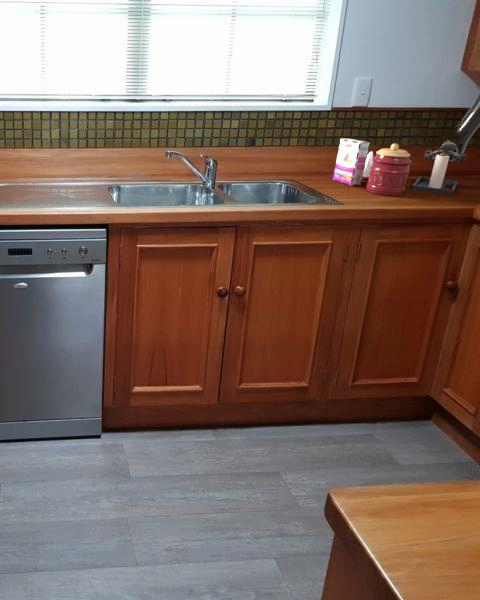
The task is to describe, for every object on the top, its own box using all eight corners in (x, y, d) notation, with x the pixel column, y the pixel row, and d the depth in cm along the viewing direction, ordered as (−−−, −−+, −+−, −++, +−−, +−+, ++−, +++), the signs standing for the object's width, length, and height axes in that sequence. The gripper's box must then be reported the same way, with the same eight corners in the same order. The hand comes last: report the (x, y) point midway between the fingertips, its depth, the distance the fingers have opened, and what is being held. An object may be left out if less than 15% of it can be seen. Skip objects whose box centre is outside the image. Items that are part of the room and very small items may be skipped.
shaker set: (361, 180, 242) (367, 152, 238) (353, 178, 246) (359, 151, 242) (385, 179, 246) (391, 152, 242) (377, 177, 250) (383, 150, 245)
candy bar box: (361, 185, 234) (371, 142, 228) (351, 186, 233) (360, 142, 226) (342, 179, 244) (350, 137, 237) (331, 180, 242) (339, 138, 236)
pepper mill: (441, 186, 235) (450, 152, 230) (440, 188, 231) (449, 153, 226) (429, 185, 237) (437, 151, 232) (427, 187, 234) (436, 152, 228)
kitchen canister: (368, 186, 233) (378, 139, 226) (405, 191, 227) (416, 143, 220) (363, 193, 222) (373, 143, 216) (402, 198, 216) (414, 147, 210)
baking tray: (456, 185, 239) (458, 181, 239) (452, 195, 223) (453, 190, 222) (418, 180, 246) (419, 176, 245) (411, 190, 229) (412, 185, 229)
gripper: (430, 141, 250) (425, 146, 238) (469, 145, 243) (467, 150, 231) (425, 160, 253) (420, 165, 241) (464, 164, 246) (461, 170, 234)
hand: (443, 158), depth 236 cm, fingers open, 8 cm apart
